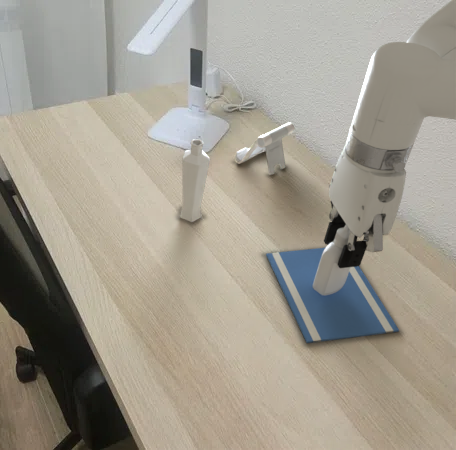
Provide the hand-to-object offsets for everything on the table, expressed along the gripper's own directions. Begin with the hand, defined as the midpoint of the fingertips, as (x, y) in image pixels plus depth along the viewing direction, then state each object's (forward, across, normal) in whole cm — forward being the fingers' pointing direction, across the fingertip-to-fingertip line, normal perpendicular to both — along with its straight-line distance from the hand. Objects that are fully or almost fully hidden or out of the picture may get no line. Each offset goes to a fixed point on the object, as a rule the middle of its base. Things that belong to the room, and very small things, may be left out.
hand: (341, 253), depth 80 cm
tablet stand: (+8, +35, -1) cm, 36 cm away
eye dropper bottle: (+7, 0, 0) cm, 7 cm away
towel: (+8, 0, 0) cm, 8 cm away
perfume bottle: (+8, +21, +17) cm, 28 cm away
